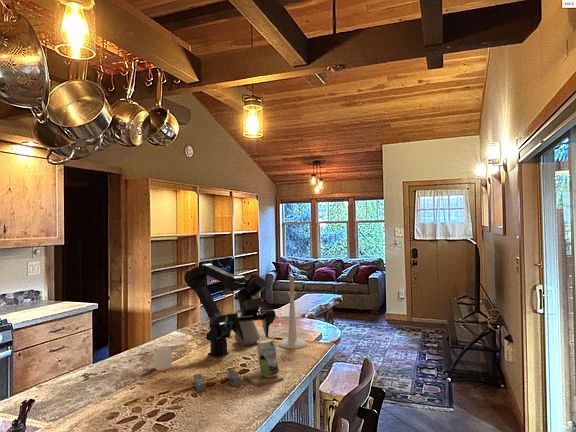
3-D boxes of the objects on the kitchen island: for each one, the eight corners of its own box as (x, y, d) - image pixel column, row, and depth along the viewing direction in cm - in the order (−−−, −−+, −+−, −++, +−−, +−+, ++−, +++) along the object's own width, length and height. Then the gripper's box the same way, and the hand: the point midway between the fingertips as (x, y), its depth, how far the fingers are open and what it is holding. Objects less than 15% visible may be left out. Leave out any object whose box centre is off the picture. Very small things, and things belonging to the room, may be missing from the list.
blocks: (193, 382, 132) (193, 374, 132) (233, 376, 137) (233, 369, 137) (198, 392, 124) (198, 384, 124) (240, 385, 129) (240, 377, 129)
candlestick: (301, 350, 168) (300, 278, 169) (273, 347, 172) (273, 278, 174) (310, 342, 180) (309, 275, 181) (284, 339, 184) (283, 275, 186)
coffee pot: (255, 347, 173) (254, 312, 174) (230, 345, 176) (230, 311, 176) (268, 334, 194) (268, 304, 195) (246, 333, 196) (246, 303, 197)
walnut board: (243, 377, 136) (243, 375, 136) (267, 371, 142) (267, 369, 142) (258, 386, 128) (257, 384, 128) (283, 379, 134) (283, 377, 134)
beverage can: (276, 379, 132) (276, 343, 132) (255, 378, 133) (255, 342, 133) (280, 373, 138) (280, 338, 138) (259, 372, 139) (259, 337, 140)
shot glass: (176, 365, 150) (176, 346, 150) (163, 371, 143) (163, 351, 144) (162, 363, 152) (162, 344, 153) (149, 368, 146) (149, 349, 147)
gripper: (226, 291, 145) (234, 328, 135) (273, 288, 152) (284, 323, 142) (221, 309, 152) (228, 346, 142) (267, 305, 159) (277, 340, 149)
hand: (255, 338), depth 143 cm, fingers open, 9 cm apart
